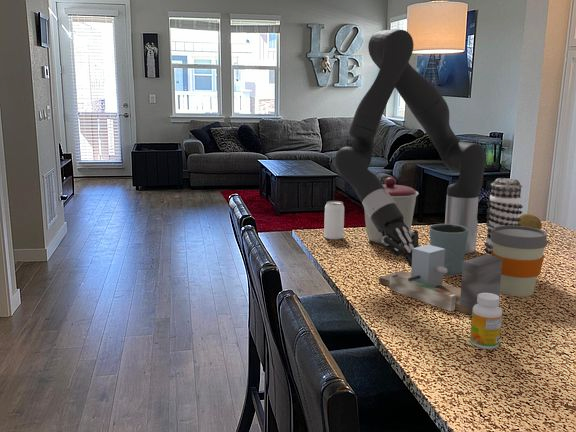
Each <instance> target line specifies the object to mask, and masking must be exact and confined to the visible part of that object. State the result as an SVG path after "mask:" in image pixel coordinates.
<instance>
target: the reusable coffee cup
mask: <svg viewBox="0 0 576 432" xmlns="http://www.w3.org/2000/svg"><path fill="white" fill-rule="evenodd" d="M547 237H548V236H547V232H546V231H544V230H542V229H540V230H539V229H536V228H531V227H524V226H497V227H495V228H493V232H492V237H491V241H492V244H493V250H492V251H491V256H495V257H499V258H503V259H502V270H501V281H500V292H499V294H503V295H506V296H512V297H529V296H532V295H534V291H535V287H536V284H537V279H538V276H540V275H541V272H542V271H541V270H542V266H543V263H544V260H545V255H544V251H545V248H546V247H547V244H548V242H547V239H548V238H547Z"/></svg>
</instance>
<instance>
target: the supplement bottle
mask: <svg viewBox="0 0 576 432" xmlns="http://www.w3.org/2000/svg"><path fill="white" fill-rule="evenodd" d="M500 297H501V296H500V295H499V296H498V295H496V294H492V293H479V294H478V296H477V303H478V304H476V305H474V307H473V310H472V315H471V322H470V323H471V326H470V334H469V335H470V337H469V342H470V343H471V344H472V345H473V346H475V347H477V348H480V349H483V350H484V349H485V350H491V349H496V348H498V347H499V345H500V340H501V339H500V338H501V333H502V332H501V330H502V329H501V328H502V322H503V321H502V318H503V310H502V309H501V307H500V306H499V305H500Z"/></svg>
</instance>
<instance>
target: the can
mask: <svg viewBox="0 0 576 432" xmlns="http://www.w3.org/2000/svg"><path fill="white" fill-rule="evenodd" d="M323 225H324V229H323V232H324V233H323V237H324V238H325V239H327V240H332V241H333V240H334V241H335V240H336V241H337V240H338V241H339V240H341V239H342V240H343V238H344V228H345V227H344V225H345V206H344V201H340V200H328V201H326V204H325V206H324V224H323Z"/></svg>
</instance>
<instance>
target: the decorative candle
mask: <svg viewBox="0 0 576 432" xmlns="http://www.w3.org/2000/svg"><path fill="white" fill-rule="evenodd" d="M490 185H491V188H490V195H489V198H487V202H486V206H487V207H488V208H487V209H486V213H487V214H486V216H485V218H486V219H487V221H486V224H485V225H486V228H487V235H486V238H485V239H486V240H485V243H484V246H485V247H484V249H483V250H484V252H485V253H484V254H483V255H486V254H487V255H491V251H492V250H493V244H492V241H491V237H492V232H493V228H495V227H497V226H520V224H519V223H518V222H519V221H521V219H520V218H519V217H520V216H519V215H523V211H522V210H521V209H523V207H524V206H523V205H522V204H521V202H522V196H521V194H522V187H523V186H524V185H522V184H521V182H520V181H519V180H518V179H515V178H509V177H508V178H506V177H499V178H496V179H495V180H494V181H493V182H492V183H490Z"/></svg>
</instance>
